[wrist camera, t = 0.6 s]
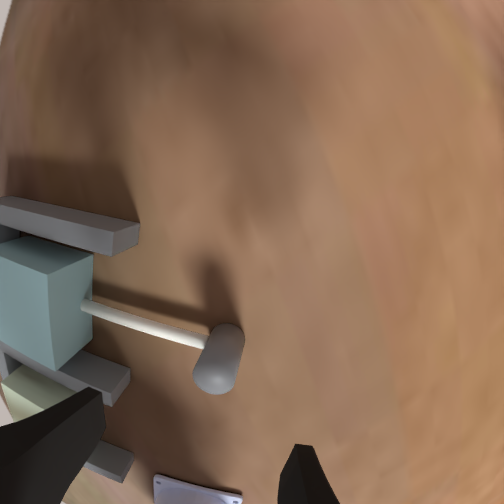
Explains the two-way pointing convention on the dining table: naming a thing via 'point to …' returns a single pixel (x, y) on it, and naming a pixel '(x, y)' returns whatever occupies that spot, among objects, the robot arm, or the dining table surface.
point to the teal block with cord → (87, 313)
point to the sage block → (31, 392)
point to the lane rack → (82, 363)
